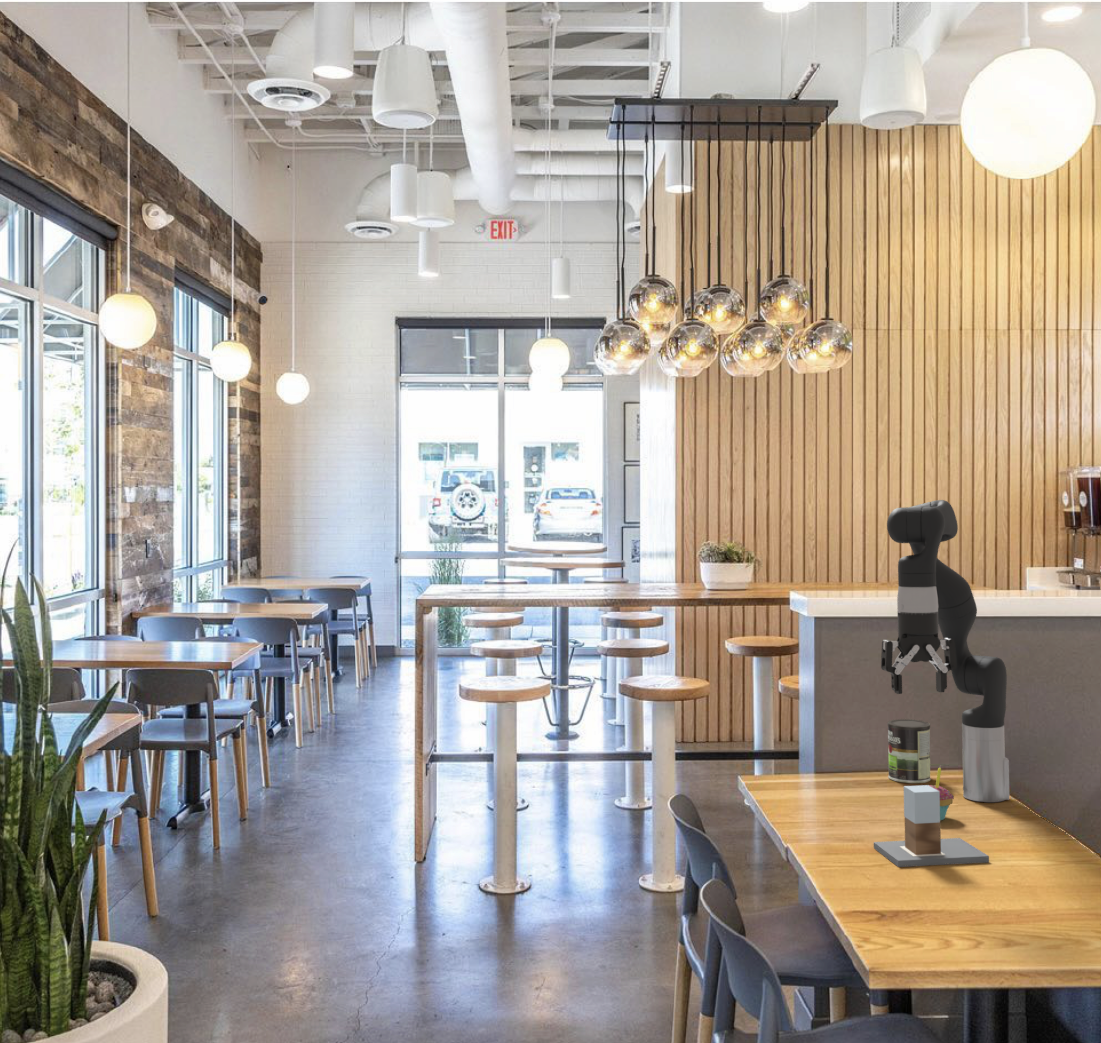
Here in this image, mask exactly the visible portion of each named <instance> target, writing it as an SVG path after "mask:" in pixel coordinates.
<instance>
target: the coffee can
mask: <svg viewBox="0 0 1101 1043" xmlns="http://www.w3.org/2000/svg"><path fill="white" fill-rule="evenodd" d="M886 723H887V739H888V740H887V742H888V743H887V744H888V747H887V748H888V779H889V780H891V781H893V782H894V781H895V782H897V783H904V784H905V783H906V784H925V783H929V782H930V781H931V778H932V777H931V743H930V742H931V731H930V730H931V729H930V728H931V723H930V722H928V721H924V720H920V719H919V720H918V719H911V718H910V719H909V718H908V719H905V718H904V719H903V718H899V719H892V720H889V721H887V722H886Z"/></svg>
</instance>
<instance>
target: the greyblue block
mask: <svg viewBox="0 0 1101 1043" xmlns="http://www.w3.org/2000/svg"><path fill="white" fill-rule="evenodd" d="M903 817H904V819H905V818H907V819H909V820H910V821H912V822H913V823H915V824H919V823H939V822H940V823H941V820H940V794H939V791H938V790H936V789H934V788H932V787H930V786H929V784H924V785H923V784H921V785H904V786H903Z"/></svg>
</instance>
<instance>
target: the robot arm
mask: <svg viewBox="0 0 1101 1043" xmlns="http://www.w3.org/2000/svg"><path fill="white" fill-rule="evenodd" d="M886 521H887V522H886V529H887V532H888V535H889V537H890V539H891V540H893V542H895V543H898V544H909V546H910V548H911V551H912V554H910V555H905V556H902V557H901V558H899V560H898V561H897V562H898V563H897V572H898V573H897V576H898V577H897V582H898V583H897V585H898V588H897V596H896V597H897V598H896V599H897V600H896V601H897V604H896V605H897V609H896V610H897V612H896V613H897V634H898V636H897V639H896V640H890V639H883V640H882V642H881V657H880V658H881V659H880V669H881V671H885V672H888V673H889V674H890V675H891V676H890V677H891V680H890V681H891V683H890V684H891V690H892V691H893V692H894V694H896V695H902V694H903V675H902V674H901V673H902V671H903V670H904V669H905V667H907V666H908V665H909V663H910V662H911V663H918V662H924V663H927V662H929V663H930V664H931V665H933V667H934V668H935V670H936V672H935V690H936V692H938V693H944V692H945V691H946V690H947V688H948V672H951V675H952V679H953V681H954V684H955V686H956V688H957V690H958V691H960V692H961V693H963V694H967V695H975V696H982V697H983V698H982V704H981V705H979V706H977V707H973V708H969V709H966V710H964V711H963V712H962V714H961V729H962V730H961V736H962V737H961V739H962V791H963V792H962V793H963V794H962V795H963V797H964V798H965V799H966V800H967V799H968V800H970V801H974V802H981V803H983V802H984V803H1000V802H1004V801H1009V800H1010V760H1009V758H1007V757H1006V752H1005V751H1006V750H1005V747H1006V745H1005V743H1006V742H1005V740H1006V739H1005V717H1006V710H1007V706H1006V705H1007V684H1008V683H1007V678H1008V674H1007V669H1006V668H1007V667H1006V664H1005V662H1004V661H1003V660H1002V659H1001V658H1000V657H998V656H989V655H987V656H986V655H976V654H973V653H971V651H970V648H969V644H968V636H969V634H970V632H971V629H972V627H973V626H974V624H975V621H976V618H977V614H978V613H977V612H978V608H977V607H978V606H977V604H976V600H975V598H974V594H973V591H972V588H971V586H970V584H969V583H968V581H967V580H966V579H965V578H964V577H963V576H962V575H960V574H959V573H958V572H956V570H954V569H952V568H951V567H949V566H948V565H947V564H945V563H944V562H943V561H941V560H940V559H939V558H938V552H939V547H940V544H941V543H944V542H948V541H949V540H953V539H954V538H955V537H956V536H957V534H958V530H959V529H958V528H959V526H958V520H957V516H956V514H955V511H954V508H953V506H952V504H951V503H949V501H947V500H945V499H939V500H938V499H937V500H932V501H928V502H925V503H921V504H917V505H916V504H915V505H912V506H909V507H906V506H905V507H897V508H894V509H892V511H891V512H890V513H889V515H888V518H887V520H886ZM939 630H940V632H941V635H942V638H943V639H942V638H941V639H940V638H939ZM940 646H941V649H942V650H943V653H944V654H943V655H944V662H943V659H942V658H941V657H940V656H939V654H938V652H937V651H938V650H939V648H940ZM896 648H897V649H898V651H899V653H898V655H897V656H896V658H895V659H894V663H893V652H895V651H896V650H895V649H896Z"/></svg>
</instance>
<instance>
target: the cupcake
mask: <svg viewBox="0 0 1101 1043" xmlns="http://www.w3.org/2000/svg"><path fill="white" fill-rule="evenodd" d="M941 767H942V764H940V765H939V767H938V768H937V774H936V780H935V781H936V782H935V784H934V785H933V784H930V785H929V784H928V785H929V786H930V787H932V788H934V789H936V790H938V791H939V794H940V821H944V820H945V818H946V815H947V813H948V809H949V807H950V806H951V805H952V804H953V800H954V795H953V794H952V793H951V791H949V790H948V789H947V788H945V787H944V786H941V785H940V782H941V781H940V780H941V773H942V768H941Z"/></svg>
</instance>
